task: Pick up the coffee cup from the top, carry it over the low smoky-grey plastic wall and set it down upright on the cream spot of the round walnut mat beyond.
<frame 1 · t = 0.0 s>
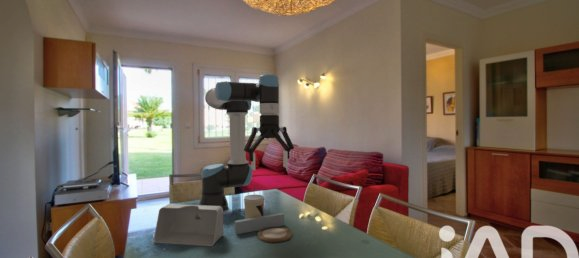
hand: (269, 168, 109), 28 cm above the table, tool pointing down, fingers open, 13 cm apart
coffee cup: (254, 223, 127), on the table
grey wall: (260, 228, 120), on the table
walnut mat: (274, 235, 113), on the table
white open storage bin: (193, 236, 113), on the table
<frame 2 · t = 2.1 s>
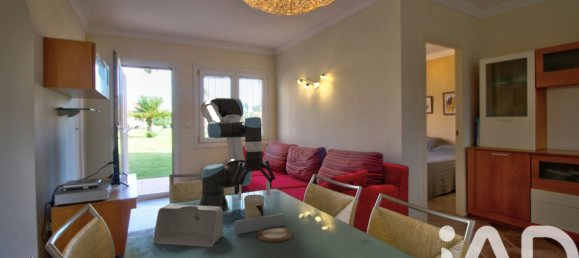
hand: (254, 197, 126), 12 cm above the table, tool pointing down, fingers open, 13 cm apart
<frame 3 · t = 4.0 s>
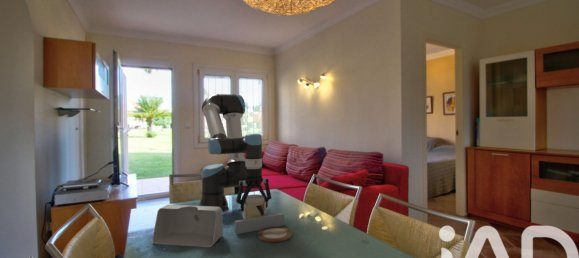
hand: (254, 216, 127), 3 cm above the table, tool pointing down, fingers closed on coffee cup, 9 cm apart
coffee cup: (254, 223, 127), on the table, touching gripper
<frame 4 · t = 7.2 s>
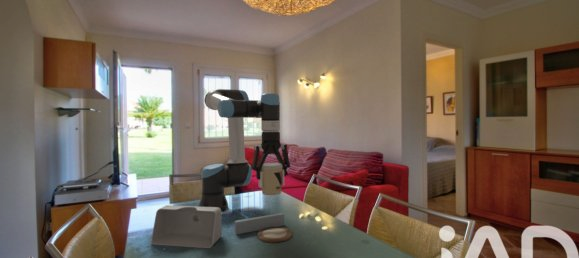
hand: (271, 185, 114), 20 cm above the table, tool pointing down, fingers closed on coffee cup, 9 cm apart
coffee cup: (271, 193, 114), point 17 cm above the table, touching gripper
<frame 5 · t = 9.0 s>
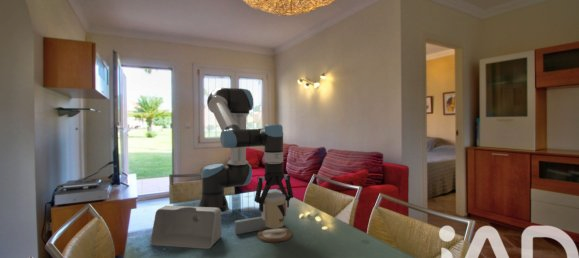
hand: (274, 217, 113), 7 cm above the table, tool pointing down, fingers closed on coffee cup, 9 cm apart
coffee cup: (274, 224, 113), point 4 cm above the table, touching gripper
when the fingers open (5 cm above the table, at t = 10.4 s): coffee cup stays where it is, resting on walnut mat.
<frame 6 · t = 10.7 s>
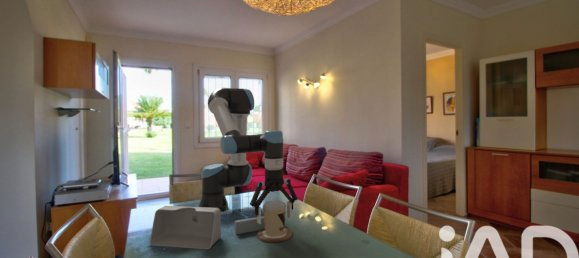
hand: (274, 220, 113), 6 cm above the table, tool pointing down, fingers open, 13 cm apart
coffee cup: (274, 233, 113), point 1 cm above the table, touching walnut mat
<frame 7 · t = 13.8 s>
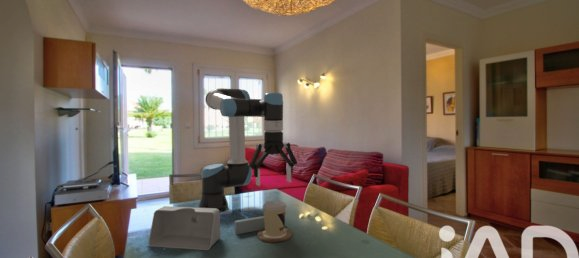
hand: (273, 183, 112), 21 cm above the table, tool pointing down, fingers open, 13 cm apart
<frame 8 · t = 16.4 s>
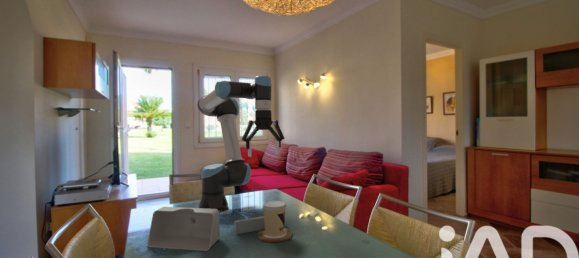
hand: (263, 155, 128), 31 cm above the table, tool pointing down, fingers open, 13 cm apart
at the end: coffee cup inside the target area on the walnut mat (0.0 cm from its centre), point 0.8 cm above the walnut mat's base; coffee cup tilted 0°; the gripper is holding nothing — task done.
